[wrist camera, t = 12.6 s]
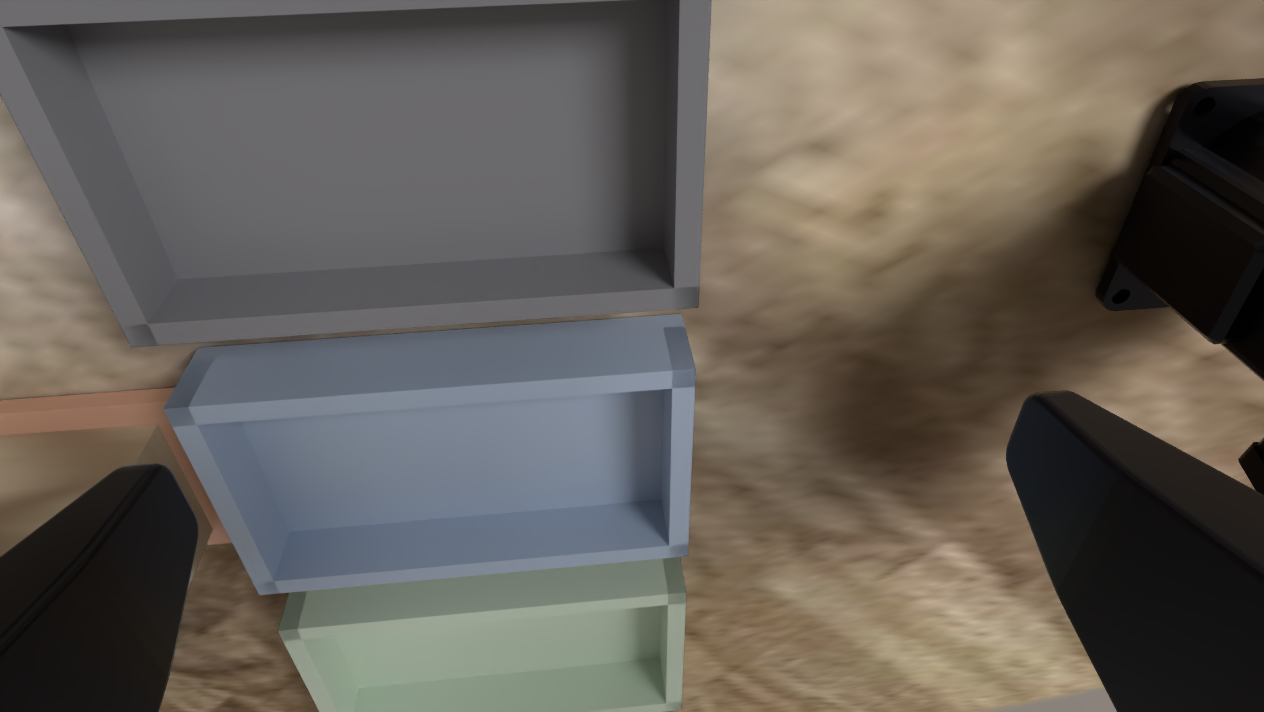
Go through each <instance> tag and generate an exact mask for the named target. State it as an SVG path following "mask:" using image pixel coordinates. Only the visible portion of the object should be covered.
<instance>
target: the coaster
mask: <svg viewBox="0 0 1264 712" xmlns="http://www.w3.org/2000/svg"><path fill="white" fill-rule="evenodd" d="M174 389H175V387H174V388H161V389H147V390H133V391H120V392H106V393H92V394H79V395H65V396H51V397H38V398H24V399H10V400H0V436H1V435H15V434H29V433H42V432H56V431H70V430H83V429H97V428H110V427H124V426H138V425H151V424H158V425H159V427H160V429H161V431H162V433H163V435H164V437H165V439H166V441H167V443H168V444H169V446H170V448H171V450H172V452H173V454H174V456H175V458H176V460H177V462H178V463H179V465H180V467H181V469H182V471H183V473H184V475H185V477H186V479H187V481H188V482H189V484H190V486H191V488H192V490H193V492H194V494H195V496H196V498H197V500H198V502H199V503H200V505H201V507H202V509H203V511H204V513H205V515H206V517H207V519H208V521H209V522H210V524H211V526H212V528H213V531H212V533H211V535H210V538H209V540H208V543H207V545H214V544H226V543H232V541H231V540H230V538H229V536H228V534H227V532H226V530H225V528H224V526H223V524H222V522H221V520H220V518H219V516H218V514H217V512H216V511H215V509H214V507H213V505H212V503H211V501H210V499H209V497H208V495H207V493H206V491H205V489H204V487H203V485H202V483H201V481H200V480H199V478H198V476H197V474H196V472H195V470H194V468H193V466H192V464H191V462H190V460H189V458H188V456H187V454H186V452H185V451H184V449H183V447H182V445H181V443H180V441H179V439H178V437H177V435H176V433H175V431H174V429H173V427H172V425H171V423H170V421H169V420H168V418H167V416H166V414H165V412H164V410H163V408H164V406H165V405H166V403H167V401H168V399H169V397H170V396H171V394H172V392H173V390H174Z"/></svg>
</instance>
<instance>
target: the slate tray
mask: <svg viewBox="0 0 1264 712" xmlns="http://www.w3.org/2000/svg"><path fill="white" fill-rule="evenodd" d="M695 375H696V368H695V364H694V360H693V356H692V353H691V349H690V345H689V341H688V337H687V333H686V330H685V326H684V322H683V318H682V314H672V315H657V316H643V317H629V318H615V319H600V320H586V321H572V322H557V323H543V324H529V325H515V326H500V327H486V328H472V329H457V330H443V331H429V332H415V333H400V334H386V335H372V336H358V337H343V338H329V339H315V340H300V341H286V342H272V343H258V344H243V345H229V346H215V347H200V348H197V350H196V352H195V354H194V355H193V357H192V359H191V361H190V362H189V364H188V366H187V368H186V369H185V371H184V373H183V375H182V376H181V378H180V380H179V382H178V383H177V385H176V387H175V389H174V390H173V392H172V394H171V396H170V397H169V399H168V401H167V403H166V405H165V406H164V408H163V410H164V412H165V414H166V416H167V418H168V420H169V421H170V423H171V425H172V427H173V429H174V431H175V433H176V435H177V437H178V439H179V441H180V443H181V445H182V447H183V449H184V451H185V452H186V454H187V456H188V458H189V460H190V462H191V464H192V466H193V468H194V470H195V472H196V474H197V476H198V478H199V480H200V481H201V483H202V485H203V487H204V489H205V491H206V493H207V495H208V497H209V499H210V501H211V503H212V505H213V507H214V509H215V511H216V512H217V514H218V516H219V518H220V520H221V522H222V524H223V526H224V528H225V530H226V532H227V534H228V536H229V538H230V540H231V541H232V543H233V545H234V547H235V549H236V551H237V553H238V555H239V557H240V559H241V561H242V563H243V565H244V567H245V569H246V570H247V572H248V574H249V576H250V578H251V580H252V582H253V584H254V586H255V588H256V590H257V592H258V594H259V595H268V594H279V593H290V592H301V591H312V590H323V589H334V588H345V587H356V586H367V585H378V584H389V583H400V582H410V581H421V580H432V579H443V578H454V577H465V576H476V575H487V574H498V573H509V572H520V571H531V570H542V569H553V568H564V567H575V566H586V565H597V564H608V563H619V562H630V561H641V560H652V559H663V558H674V557H685V556H688V538H689V515H690V492H691V468H692V445H693V422H694V398H695Z"/></svg>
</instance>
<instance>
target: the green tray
mask: <svg viewBox="0 0 1264 712" xmlns="http://www.w3.org/2000/svg"><path fill="white" fill-rule="evenodd" d="M685 608H686V589H685V583H684V578H683V572H682V566H681V561H680V557H674V558H663V559H652V560H641V561H630V562H619V563H608V564H597V565H586V566H575V567H564V568H553V569H542V570H531V571H520V572H509V573H498V574H487V575H476V576H465V577H454V578H443V579H432V580H421V581H410V582H400V583H389V584H378V585H367V586H356V587H345V588H334V589H323V590H312V591H301V592H290V593H289V594H288V598H287V601H286V605H285V608H284V611H283V615H282V618H281V622H280V625H279V628H278V632H279V634H280V636H281V638H282V640H283V642H284V644H285V646H286V648H287V650H288V652H289V654H290V656H291V658H292V660H293V661H294V663H295V665H296V667H297V669H298V671H299V673H300V675H301V677H302V679H303V681H304V683H305V685H306V687H307V689H308V690H309V692H310V694H311V696H312V698H313V700H314V702H315V704H316V706H317V708H318V710H319V712H664V711H673V710H681V702H682V678H683V655H684V632H685Z"/></svg>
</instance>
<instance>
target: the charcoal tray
mask: <svg viewBox="0 0 1264 712" xmlns="http://www.w3.org/2000/svg"><path fill="white" fill-rule="evenodd" d="M711 1H712V0H0V94H1V96H2V98H3V100H4V102H5V104H6V106H7V108H8V110H9V112H10V114H11V116H12V118H13V120H14V121H15V123H16V125H17V127H18V129H19V131H20V133H21V135H22V137H23V139H24V141H25V143H26V145H27V147H28V149H29V151H30V152H31V154H32V156H33V158H34V160H35V162H36V164H37V166H38V168H39V170H40V172H41V174H42V176H43V178H44V180H45V181H46V183H47V185H48V187H49V189H50V191H51V193H52V195H53V197H54V199H55V201H56V203H57V205H58V207H59V209H60V211H61V212H62V214H63V216H64V218H65V220H66V222H67V224H68V226H69V228H70V230H71V232H72V234H73V236H74V238H75V240H76V241H77V243H78V245H79V247H80V249H81V251H82V253H83V255H84V257H85V259H86V261H87V263H88V265H89V267H90V269H91V271H92V272H93V274H94V276H95V278H96V280H97V282H98V284H99V286H100V288H101V290H102V292H103V294H104V296H105V298H106V300H107V301H108V303H109V305H110V307H111V309H112V311H113V313H114V315H115V317H116V319H117V321H118V323H119V325H120V327H121V329H122V331H123V332H124V334H125V336H126V338H127V340H128V342H129V344H130V346H131V347H140V346H155V345H169V344H184V343H198V342H212V341H227V340H241V339H255V338H270V337H284V336H298V335H313V334H327V333H342V332H356V331H370V330H385V329H399V328H413V327H428V326H442V325H457V324H471V323H485V322H500V321H514V320H528V319H543V318H557V317H571V316H586V315H600V314H615V313H629V312H643V311H658V310H672V309H686V308H698V305H699V282H700V258H701V235H702V212H703V188H704V165H705V142H706V118H707V95H708V72H709V48H710V25H711Z"/></svg>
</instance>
